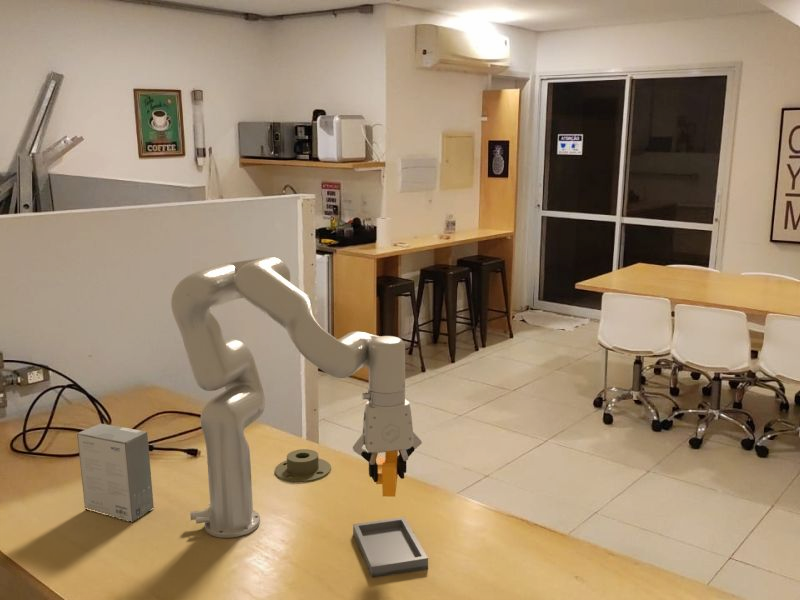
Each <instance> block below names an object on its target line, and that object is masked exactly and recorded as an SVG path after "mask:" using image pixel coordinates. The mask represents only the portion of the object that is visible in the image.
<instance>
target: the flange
mask: <svg viewBox="0 0 800 600" xmlns="http://www.w3.org/2000/svg"><path fill="white" fill-rule="evenodd" d="M286 464H287V465H286ZM331 471H332V467H331V464H330V462H328V461H327V460H325V459H324V458H319V453H318V452H317V451H316V450H314V449H313V450H312V449H309V448H308V449H307V448H305V449H304V448H303V449H302V448H301V449H296V450H292V451H290V452H289V453H287V455H286V459H285V460H284V461H281V462H280V463H279V464H277V465H276V466H275V467H274V474H275V476H276V477H277V478H278V479H280V480H281V481H284V482H289V483H295V482H303V483H311V482H315V480H316V481H318V480H321V479H323V477H324V478H325V477H326V476H328V475H329V474H330V473H331ZM322 473H323V474H322Z"/></svg>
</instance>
